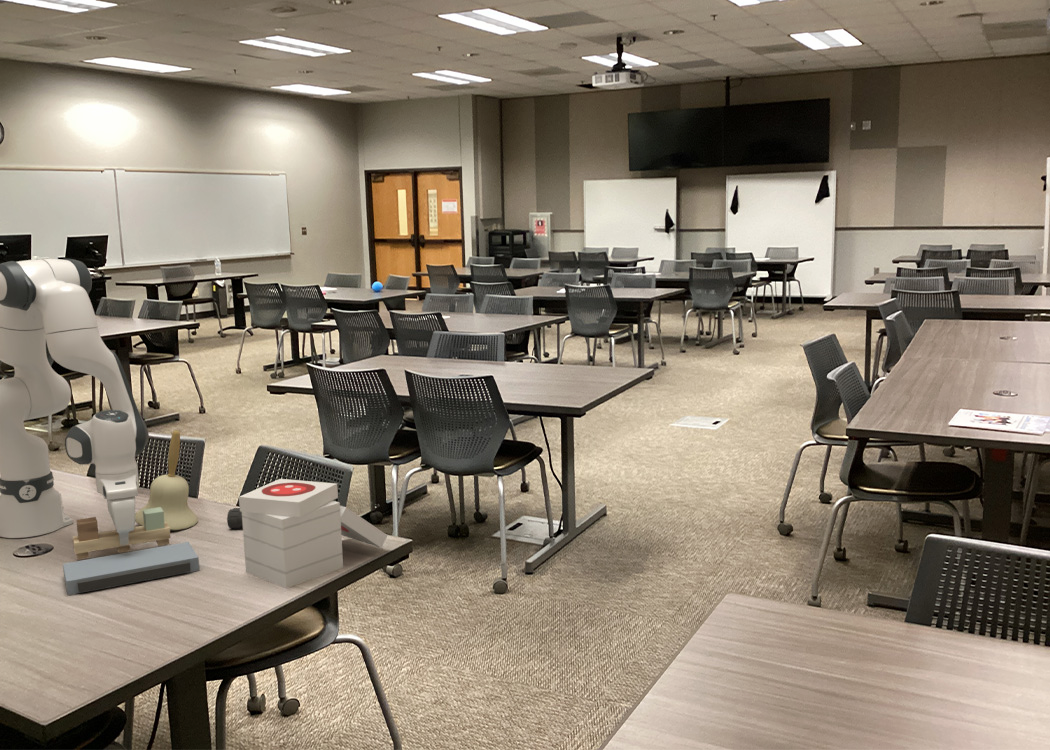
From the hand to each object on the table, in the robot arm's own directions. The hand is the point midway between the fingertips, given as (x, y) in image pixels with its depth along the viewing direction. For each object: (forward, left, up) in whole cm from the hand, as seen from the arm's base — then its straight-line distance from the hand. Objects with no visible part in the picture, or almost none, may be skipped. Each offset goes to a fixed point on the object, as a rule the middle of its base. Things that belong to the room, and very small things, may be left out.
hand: (122, 540), depth 210 cm
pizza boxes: (+28, +36, -4) cm, 46 cm away
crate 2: (0, +7, +2) cm, 7 cm away
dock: (+13, 0, -4) cm, 14 cm away
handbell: (-19, +12, -4) cm, 23 cm away
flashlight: (-3, +32, -4) cm, 33 cm away
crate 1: (0, -7, +2) cm, 7 cm away
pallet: (0, 0, -2) cm, 2 cm away
